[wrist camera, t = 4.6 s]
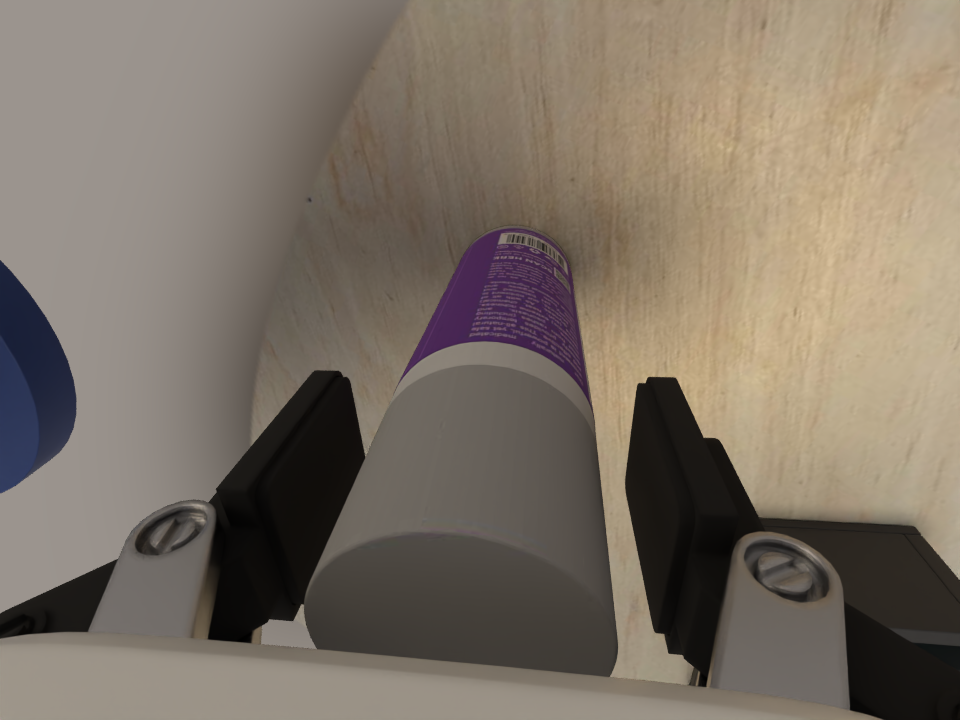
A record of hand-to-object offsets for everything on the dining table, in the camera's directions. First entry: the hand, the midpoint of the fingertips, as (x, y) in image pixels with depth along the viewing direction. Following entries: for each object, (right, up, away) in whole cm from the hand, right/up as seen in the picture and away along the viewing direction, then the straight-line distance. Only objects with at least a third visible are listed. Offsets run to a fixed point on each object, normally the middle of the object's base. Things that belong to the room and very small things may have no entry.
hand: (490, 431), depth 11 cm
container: (+1, +5, +9) cm, 10 cm away
